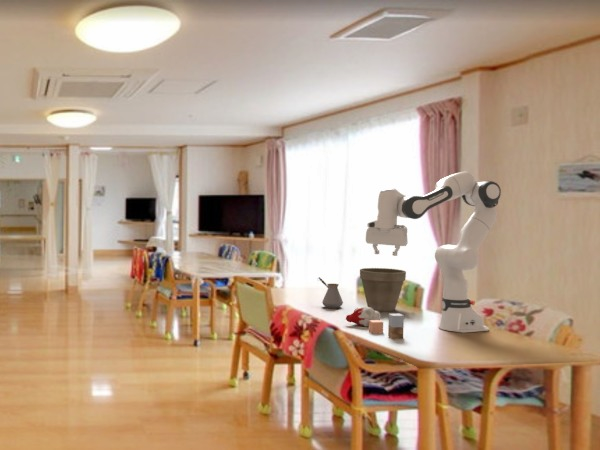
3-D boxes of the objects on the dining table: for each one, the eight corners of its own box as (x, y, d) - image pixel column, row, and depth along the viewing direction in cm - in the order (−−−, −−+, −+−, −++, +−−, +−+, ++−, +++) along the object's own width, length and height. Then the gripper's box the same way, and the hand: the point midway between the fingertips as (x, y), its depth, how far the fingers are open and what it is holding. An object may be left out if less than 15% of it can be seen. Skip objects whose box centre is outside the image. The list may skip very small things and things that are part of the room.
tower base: (399, 336, 272) (399, 324, 272) (403, 338, 267) (403, 327, 267) (388, 336, 271) (388, 325, 271) (392, 338, 266) (392, 327, 266)
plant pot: (403, 306, 350) (404, 268, 349) (406, 314, 326) (407, 273, 325) (359, 304, 353) (359, 266, 352) (359, 312, 328) (359, 271, 327)
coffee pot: (346, 308, 341) (347, 281, 340) (329, 309, 335) (329, 282, 335) (326, 302, 360) (327, 276, 359) (309, 303, 354) (310, 277, 353)
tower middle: (399, 324, 272) (399, 313, 272) (403, 327, 267) (403, 315, 267) (388, 325, 271) (388, 313, 271) (392, 327, 266) (392, 315, 266)
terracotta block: (379, 330, 283) (379, 319, 283) (383, 333, 278) (383, 322, 278) (368, 331, 282) (369, 320, 282) (372, 333, 277) (372, 322, 277)
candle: (382, 326, 291) (352, 331, 287) (372, 321, 302) (343, 326, 298) (380, 307, 290) (350, 312, 286) (371, 303, 301) (342, 307, 297)
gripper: (410, 225, 276) (409, 256, 277) (371, 223, 289) (370, 252, 290) (403, 225, 272) (402, 256, 272) (364, 223, 284) (363, 253, 285)
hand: (385, 254), depth 281 cm, fingers open, 8 cm apart
